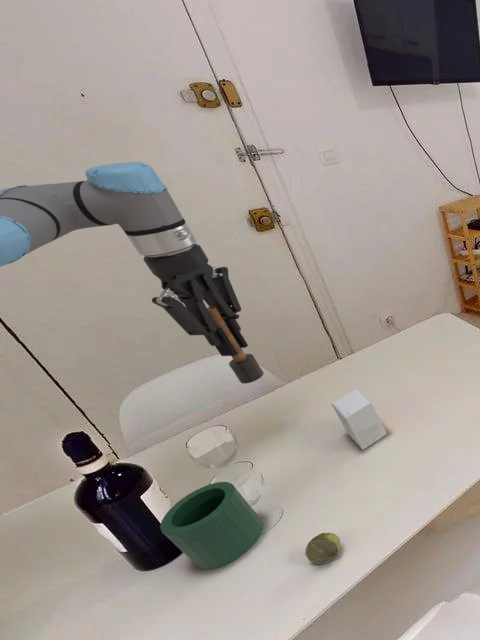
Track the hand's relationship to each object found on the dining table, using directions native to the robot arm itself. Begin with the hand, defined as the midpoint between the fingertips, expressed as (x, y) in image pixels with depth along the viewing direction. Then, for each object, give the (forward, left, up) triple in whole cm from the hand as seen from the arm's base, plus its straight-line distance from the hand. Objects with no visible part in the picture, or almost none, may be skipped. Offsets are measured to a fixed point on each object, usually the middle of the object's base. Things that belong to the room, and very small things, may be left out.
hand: (235, 350), depth 86 cm
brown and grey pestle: (0, 0, -7) cm, 7 cm away
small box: (+20, -2, -25) cm, 32 cm away
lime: (+28, -29, -25) cm, 47 cm away
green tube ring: (+8, -26, -25) cm, 37 cm away
